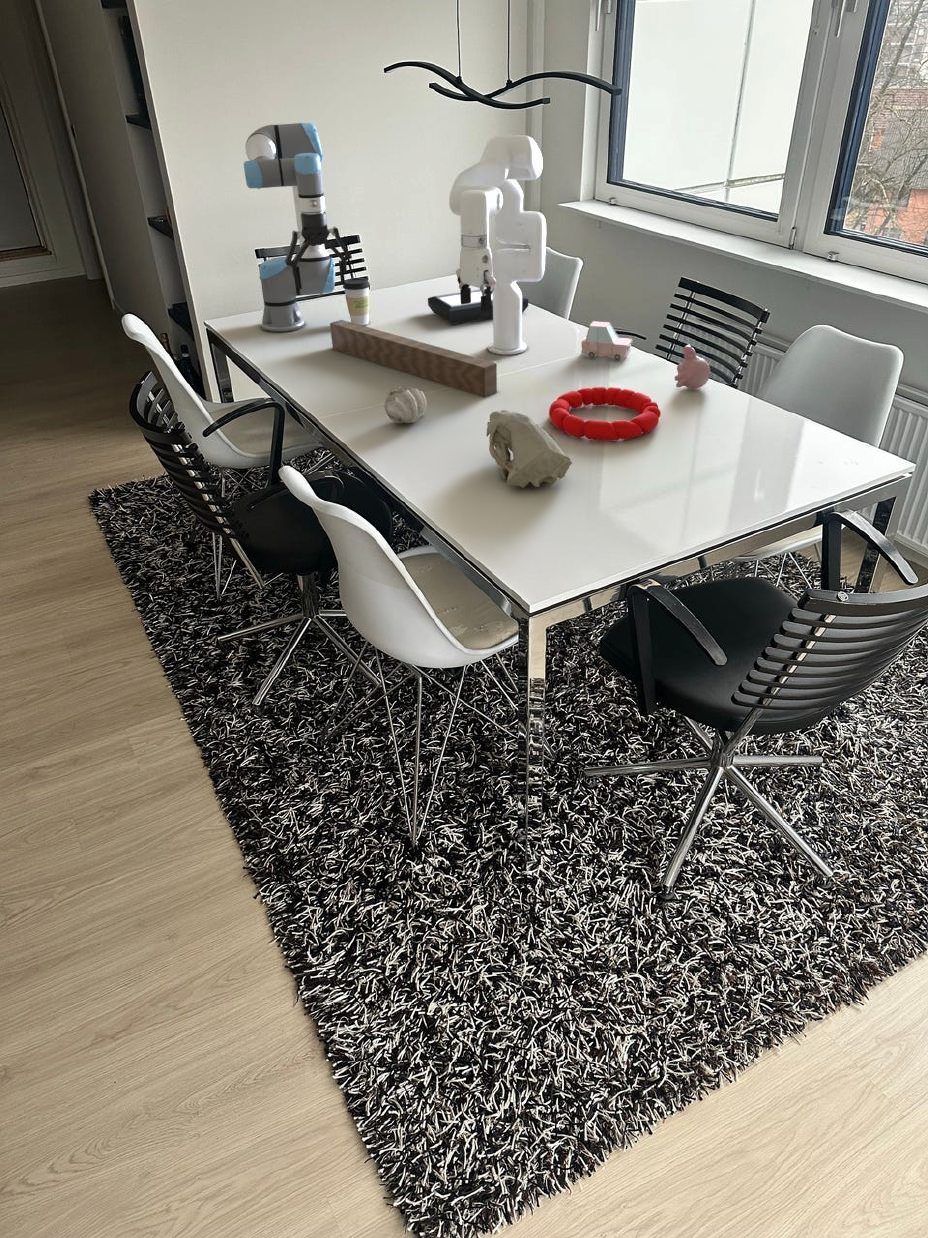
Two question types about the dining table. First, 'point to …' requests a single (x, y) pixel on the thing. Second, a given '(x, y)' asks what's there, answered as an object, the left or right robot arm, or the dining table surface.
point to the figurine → (692, 370)
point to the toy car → (605, 342)
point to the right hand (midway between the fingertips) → (475, 306)
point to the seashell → (405, 405)
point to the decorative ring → (604, 428)
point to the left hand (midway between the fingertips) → (321, 285)
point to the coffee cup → (357, 299)
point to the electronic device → (463, 307)
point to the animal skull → (525, 450)
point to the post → (416, 357)
